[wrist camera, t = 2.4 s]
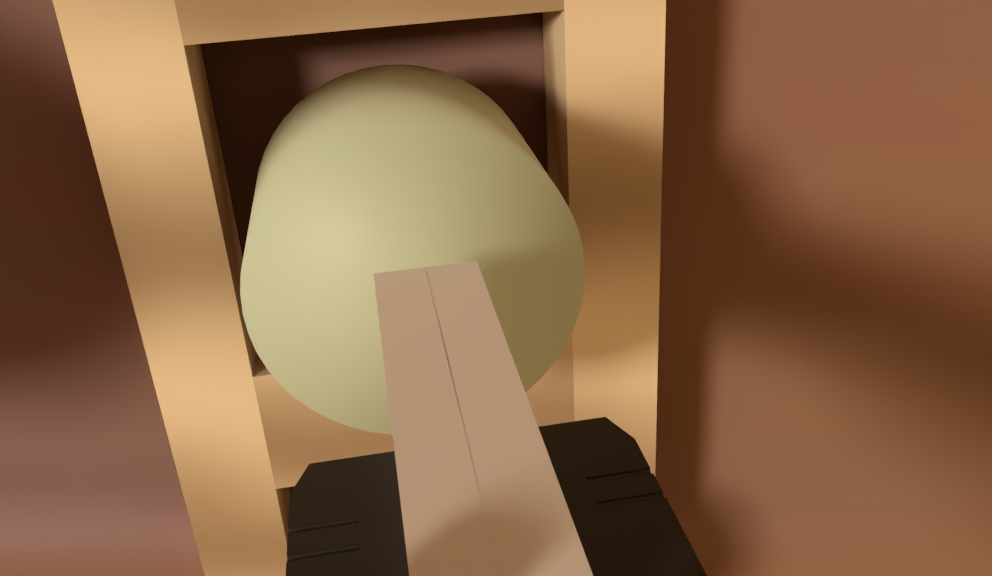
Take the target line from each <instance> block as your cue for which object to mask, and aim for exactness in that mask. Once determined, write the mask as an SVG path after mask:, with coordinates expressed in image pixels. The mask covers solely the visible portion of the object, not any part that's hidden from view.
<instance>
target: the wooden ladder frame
mask: <svg viewBox="0 0 992 576" xmlns="http://www.w3.org/2000/svg"><path fill="white" fill-rule="evenodd" d="M53 4H54V8H55V12H56V15H57V19H58V23H59V27H60V31H61V34H62V38H63V42H64V46H65V49H66V53H67V57H68V61H69V65H70V68H71V72H72V76H73V80H74V83H75V87H76V91H77V95H78V99H79V102H80V106H81V110H82V114H83V117H84V121H85V125H86V129H87V133H88V136H89V140H90V144H91V148H92V151H93V155H94V159H95V163H96V167H97V170H98V174H99V178H100V182H101V186H102V189H103V193H104V197H105V201H106V204H107V208H108V212H109V216H110V220H111V223H112V227H113V231H114V235H115V238H116V242H117V246H118V250H119V254H120V257H121V261H122V265H123V269H124V272H125V276H126V280H127V284H128V288H129V291H130V295H131V299H132V303H133V306H134V310H135V314H136V318H137V322H138V325H139V329H140V333H141V337H142V340H143V344H144V348H145V352H146V356H147V359H148V363H149V367H150V371H151V374H152V378H153V382H154V386H155V390H156V393H157V397H158V401H159V405H160V408H161V412H162V416H163V420H164V424H165V427H166V431H167V435H168V439H169V442H170V446H171V450H172V454H173V458H174V461H175V465H176V469H177V473H178V476H179V480H180V484H181V488H182V492H183V495H184V499H185V503H186V507H187V510H188V514H189V518H190V522H191V526H192V529H193V533H194V537H195V541H196V544H197V548H198V552H199V556H200V560H201V563H202V567H203V571H204V575H205V576H286V562H287V538H288V534H289V531H288V518H289V498H290V491H289V487H292V486H295V485H296V484H297V482H298V481H299V479H300V477H301V476H302V474H303V473H304V471H305V470H306V468H307V466H308V465H309V464H311V463H317V462H324V461H331V460H337V459H344V458H351V457H358V456H364V455H371V454H378V453H384V452H391V451H394V443H393V435H389V434H381V433H373V432H368V431H364V430H360V429H356V428H352V427H349V426H346V425H343V424H341V423H338V422H335V421H332V420H330V419H328V418H326V417H324V416H322V415H320V414H319V413H317V412H315V411H313V410H311V409H310V408H308V407H307V406H306V405H304V404H303V403H301V402H300V401H298V400H297V399H296V398H294V397H293V396H292V395H291V394H290V393H289V392H288V391H287V390H285V389H284V388H283V387H282V386H281V385H280V384H279V383H278V381H277V380H276V379H275V378H274V377H273V376H272V374H271V373H270V372H269V371H268V370H267V368H266V366H265V365H264V363H263V362H262V360H261V359H260V357H259V355H258V354H257V352H256V350H255V348H254V345H253V343H252V341H251V339H250V337H249V334H248V331H247V328H246V324H245V320H244V317H243V312H242V304H241V297H240V277H241V268H242V262H243V256H242V251H241V246H240V241H239V236H238V231H237V226H236V221H235V216H234V211H233V206H232V201H231V196H230V191H229V186H228V181H227V176H226V170H225V165H224V160H223V155H222V150H221V145H220V140H219V135H218V130H217V125H216V120H215V115H214V110H213V105H212V100H211V95H210V90H209V85H208V80H207V75H206V70H205V65H204V60H203V55H202V50H201V45H200V44H204V43H215V42H226V41H237V40H248V39H258V38H269V37H280V36H291V35H301V34H312V33H323V32H334V31H345V30H355V29H366V28H377V27H388V26H398V25H409V24H420V23H431V22H442V21H452V20H463V19H474V18H485V17H495V16H506V15H517V14H528V13H538V12H542V18H543V46H544V75H545V103H546V131H547V159H548V176H549V177H550V179H551V180H552V181H553V183H554V184H555V186H556V187H557V189H558V190H559V192H560V193H561V195H562V197H563V198H564V200H565V202H566V204H567V205H568V207H569V209H570V211H571V212H572V215H573V218H574V220H575V223H576V225H577V228H578V230H579V234H580V238H581V242H582V247H583V251H584V263H585V283H584V293H583V298H582V303H581V309H580V312H579V315H578V318H577V321H576V324H575V327H574V329H573V331H572V333H571V335H570V337H569V339H568V341H567V343H566V346H565V347H564V349H563V350H562V352H561V353H560V355H559V356H558V358H557V359H556V361H555V362H554V364H553V365H552V366H551V367H550V368H549V370H548V371H547V372H546V373H545V374H544V375H543V377H542V378H541V379H540V380H539V381H538V382H537V383H535V384H534V385H533V386H532V387H531V388H530V389H529V390H528V391H527V392H526V395H527V398H528V401H529V404H530V406H531V409H532V412H533V414H534V417H535V420H536V422H537V425H538V427H540V426H546V425H553V424H560V423H567V422H573V421H580V420H587V419H594V418H600V417H606V418H608V419H609V420H610V421H612V422H613V423H614V424H616V425H617V426H618V427H620V428H621V429H622V430H624V431H625V432H626V433H628V434H629V435H630V436H632V437H633V438H635V440H636V442H637V444H638V446H639V447H640V449H641V451H642V453H643V455H644V457H645V459H646V461H647V463H648V465H649V466H650V471H651V473H653V474H654V476H655V467H656V423H657V379H658V335H659V291H660V247H661V203H662V158H663V114H664V70H665V26H666V0H53Z"/></svg>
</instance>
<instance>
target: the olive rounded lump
mask: <svg viewBox="0 0 992 576" xmlns="http://www.w3.org/2000/svg"><path fill="white" fill-rule="evenodd" d="M471 261H477V263H478V266H479V268H480V271H481V274H482V276H483V279H484V282H485V285H486V287H487V290H488V293H489V295H490V298H491V301H492V303H493V306H494V309H495V312H496V314H497V317H498V320H499V322H500V325H501V328H502V331H503V333H504V336H505V339H506V341H507V344H508V347H509V349H510V352H511V355H512V358H513V360H514V363H515V366H516V368H517V371H518V374H519V376H520V379H521V382H522V385H523V387H524V390H525V393H526V392H527V391H528V390H529V389H530V388H531V387H532V386H533V385H534V384H535V383H537V382H538V381H539V380H540V379H541V378H542V377H543V375H544V374H545V373H546V372H547V371H548V370H549V368H550V367H551V366H552V365H553V364H554V362H555V361H556V359H557V358H558V356H559V355H560V353H561V352H562V350H563V349H564V347H565V346H566V343H567V341H568V339H569V337H570V335H571V333H572V331H573V329H574V327H575V324H576V321H577V318H578V315H579V312H580V309H581V303H582V298H583V293H584V283H585V263H584V251H583V247H582V242H581V238H580V234H579V230H578V228H577V225H576V223H575V220H574V218H573V215H572V212H571V211H570V209H569V207H568V205H567V204H566V202H565V200H564V198H563V197H562V195H561V193H560V192H559V190H558V189H557V187H556V186H555V184H554V183H553V181H552V180H551V179H550V177H549V176H548V174H547V173H546V171H545V170H544V168H543V167H542V165H541V164H540V162H539V161H538V159H537V158H536V156H535V155H534V153H533V152H532V150H531V149H530V147H529V146H528V144H527V143H526V141H525V140H524V138H523V137H522V135H521V134H520V132H519V131H518V130H517V128H516V127H515V125H514V124H513V122H512V121H511V120H510V119H509V117H508V116H507V115H506V113H505V112H504V111H503V110H502V109H501V108H500V107H499V106H498V105H497V104H496V103H495V102H494V101H493V100H492V99H491V98H490V97H488V96H487V95H486V94H484V93H483V92H482V91H480V90H479V89H477V88H476V87H475V86H473V85H471V84H469V83H467V82H465V81H464V80H462V79H460V78H458V77H455V76H453V75H450V74H447V73H445V72H442V71H439V70H434V69H430V68H426V67H421V66H411V65H382V66H376V67H370V68H364V69H361V70H357V71H354V72H351V73H347V74H344V75H342V76H340V77H338V78H336V79H333V80H331V81H329V82H327V83H325V84H324V85H322V86H321V87H319V88H317V89H316V90H314V91H313V92H311V93H310V94H309V95H307V96H306V97H305V98H304V99H303V100H301V101H300V102H299V103H298V104H297V105H296V106H295V107H294V108H293V109H292V110H291V111H290V112H289V113H288V114H287V115H286V117H285V118H284V119H283V120H282V122H281V123H280V124H279V126H278V127H277V129H276V130H275V132H274V133H273V135H272V137H271V139H270V141H269V143H268V145H267V147H266V149H265V151H264V154H263V157H262V160H261V163H260V166H259V170H258V176H257V182H256V187H255V193H254V199H253V205H252V210H251V216H250V222H249V227H248V233H247V239H246V245H245V250H244V256H243V262H242V268H241V277H240V297H241V304H242V312H243V317H244V320H245V324H246V328H247V331H248V334H249V337H250V339H251V341H252V343H253V345H254V348H255V350H256V352H257V354H258V355H259V357H260V359H261V360H262V362H263V363H264V365H265V366H266V368H267V370H268V371H269V372H270V373H271V374H272V376H273V377H274V378H275V379H276V380H277V381H278V383H279V384H280V385H281V386H282V387H283V388H284V389H285V390H287V391H288V392H289V393H290V394H291V395H292V396H293V397H294V398H296V399H297V400H298V401H300V402H301V403H303V404H304V405H306V406H307V407H308V408H310V409H311V410H313V411H315V412H317V413H319V414H320V415H322V416H324V417H326V418H328V419H330V420H332V421H335V422H338V423H341V424H343V425H346V426H349V427H352V428H356V429H360V430H364V431H368V432H373V433H381V434H389V435H392V426H391V418H390V409H389V401H388V392H387V384H386V376H385V367H384V359H383V350H382V342H381V333H380V325H379V317H378V308H377V300H376V291H375V283H374V273H382V272H391V271H399V270H407V269H415V268H423V267H431V266H439V265H447V264H455V263H463V262H471Z"/></svg>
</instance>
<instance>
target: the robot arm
mask: <svg viewBox="0 0 992 576" xmlns="http://www.w3.org/2000/svg"><path fill="white" fill-rule="evenodd" d="M374 283H375V291H376V300H377V308H378V317H379V325H380V333H381V342H382V350H383V359H384V367H385V376H386V384H387V392H388V401H389V409H390V418H391V426H392V435H393V443H394V451H391V452H384V453H378V454H371V455H364V456H358V457H351V458H344V459H337V460H331V461H324V462H317V463H311V464H309V465H308V466H307V468H306V470H305V471H304V473H303V474H302V476H301V477H300V479H299V481H298V482H297V484H296V485H295V487H294V488H293V490H292V492H291V493H290V498H289V518H288V531H289V534H288V538H287V562H286V576H707V575H706V573H705V571H704V569H703V567H702V565H701V564H700V562H699V560H698V558H697V556H696V554H695V552H694V550H693V548H692V546H691V545H690V543H689V541H688V539H687V537H686V535H685V533H684V531H683V529H682V527H681V525H680V524H679V522H678V520H677V518H676V516H675V514H674V512H673V510H672V508H671V506H670V505H669V503H668V501H667V499H666V498H664V497H663V491H662V489H661V487H660V485H659V484H658V482H657V480H656V478H655V476H654V474H653V473H651V471H650V466H649V465H648V463H647V461H646V459H645V457H644V455H643V453H642V451H641V449H640V447H639V446H638V444H637V442H636V440H635V438H633V437H632V436H630V435H629V434H628V433H626V432H625V431H624V430H622V429H621V428H620V427H618V426H617V425H616V424H614V423H613V422H612V421H610V420H609V419H608V418H606V417H600V418H594V419H587V420H580V421H573V422H567V423H560V424H553V425H546V426H540V427H538V425H537V422H536V420H535V417H534V414H533V412H532V409H531V406H530V404H529V401H528V398H527V395H526V393H525V390H524V387H523V385H522V382H521V379H520V376H519V374H518V371H517V368H516V366H515V363H514V360H513V358H512V355H511V352H510V349H509V347H508V344H507V341H506V339H505V336H504V333H503V331H502V328H501V325H500V322H499V320H498V317H497V314H496V312H495V309H494V306H493V303H492V301H491V298H490V295H489V293H488V290H487V287H486V285H485V282H484V279H483V276H482V274H481V271H480V268H479V266H478V263H477V261H471V262H463V263H455V264H447V265H439V266H431V267H423V268H415V269H407V270H399V271H391V272H382V273H374Z"/></svg>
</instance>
